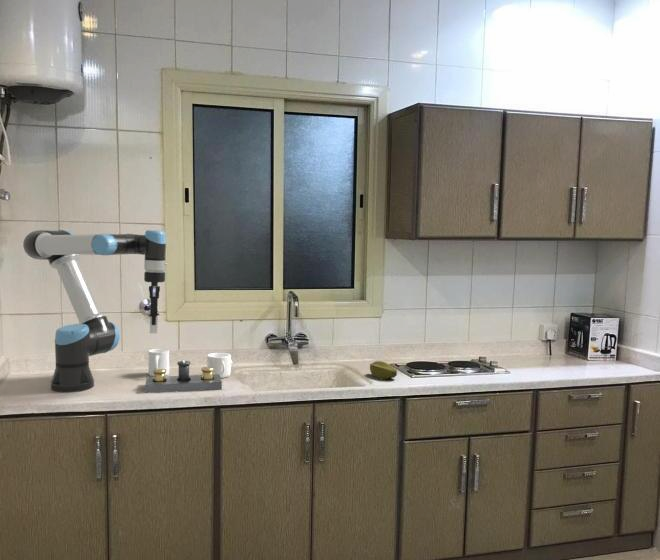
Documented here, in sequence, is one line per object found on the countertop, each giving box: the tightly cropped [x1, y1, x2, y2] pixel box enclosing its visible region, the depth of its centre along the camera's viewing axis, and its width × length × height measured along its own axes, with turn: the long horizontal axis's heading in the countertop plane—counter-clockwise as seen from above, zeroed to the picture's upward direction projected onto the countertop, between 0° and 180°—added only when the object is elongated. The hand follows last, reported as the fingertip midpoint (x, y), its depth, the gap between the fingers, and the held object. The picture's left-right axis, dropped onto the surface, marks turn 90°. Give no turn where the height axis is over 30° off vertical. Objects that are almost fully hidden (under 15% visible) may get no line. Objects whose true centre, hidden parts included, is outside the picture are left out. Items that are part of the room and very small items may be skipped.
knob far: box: [201, 366, 214, 380], centre depth 233 cm, size 5×5×7 cm
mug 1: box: [148, 348, 170, 377], centre depth 247 cm, size 12×8×10 cm
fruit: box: [369, 360, 398, 380], centre depth 254 cm, size 11×12×7 cm
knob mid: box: [177, 359, 191, 381], centre depth 231 cm, size 5×5×7 cm
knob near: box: [153, 369, 166, 382], centre depth 228 cm, size 5×5×7 cm
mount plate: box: [144, 374, 223, 394], centre depth 231 cm, size 28×12×3 cm, turn 105°
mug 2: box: [206, 352, 234, 379], centre depth 248 cm, size 12×10×9 cm
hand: (153, 332), depth 227 cm, fingers closed
